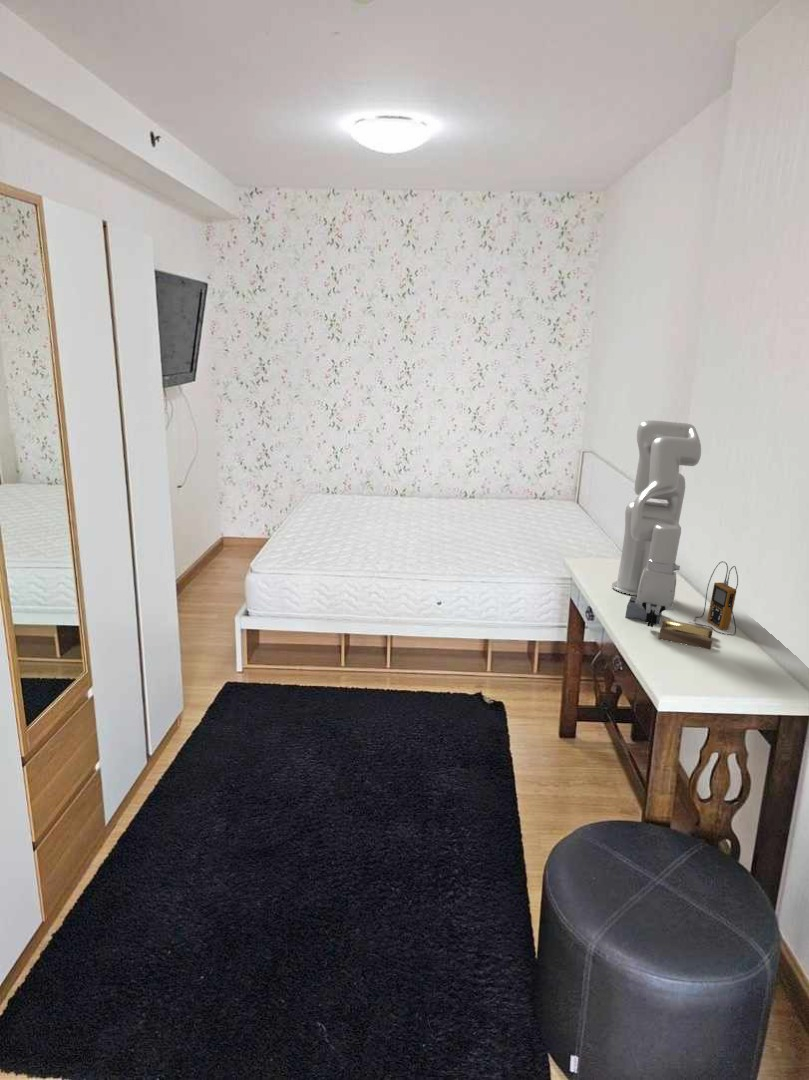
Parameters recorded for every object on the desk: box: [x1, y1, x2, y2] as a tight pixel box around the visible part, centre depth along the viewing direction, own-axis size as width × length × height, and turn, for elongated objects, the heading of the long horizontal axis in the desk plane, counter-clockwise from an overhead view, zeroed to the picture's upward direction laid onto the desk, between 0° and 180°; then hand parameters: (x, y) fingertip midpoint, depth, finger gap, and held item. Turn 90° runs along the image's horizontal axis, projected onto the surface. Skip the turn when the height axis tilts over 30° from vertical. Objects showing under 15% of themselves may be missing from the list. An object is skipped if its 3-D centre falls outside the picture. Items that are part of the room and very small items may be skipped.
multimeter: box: [688, 561, 739, 636], centre depth 220 cm, size 15×10×20 cm
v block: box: [625, 595, 663, 625], centre depth 227 cm, size 10×10×4 cm
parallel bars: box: [658, 618, 714, 651], centre depth 212 cm, size 12×14×2 cm
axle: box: [665, 619, 710, 638], centre depth 212 cm, size 12×4×4 cm, turn 66°
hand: (650, 625), depth 215 cm, fingers closed
